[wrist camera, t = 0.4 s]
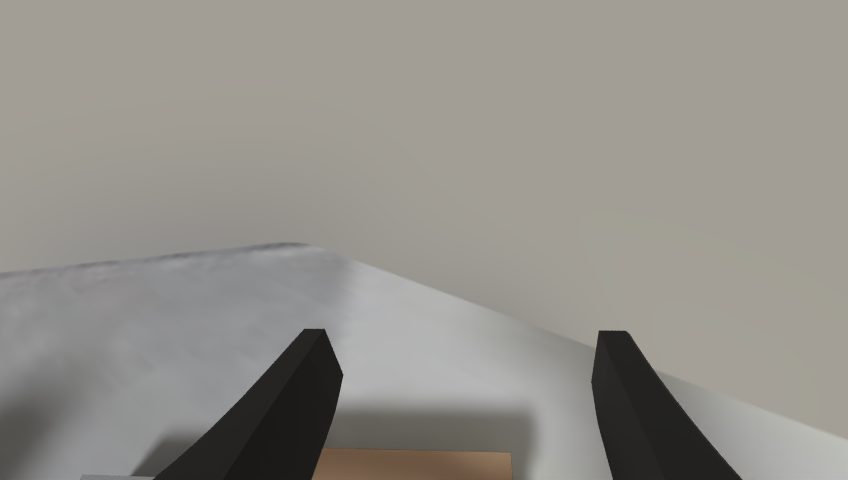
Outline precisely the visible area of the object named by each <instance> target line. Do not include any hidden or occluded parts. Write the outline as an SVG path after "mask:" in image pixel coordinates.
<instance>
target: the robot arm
mask: <svg viewBox="0 0 848 480" xmlns="http://www.w3.org/2000/svg"><path fill="white" fill-rule="evenodd" d="M342 379H343V373H342V370H341V368H340V365H339V363H338V361H337V358H336V356H335V353H334V351H333V348H332V346H331V343H330V341H329V338H328V336H327V334H326V331H325V329H304V330H303V331H302V332H301V333H300V334H299V335H298V336H297V338H296V339H295V340H294V341H293V342H292V343H291V344H290V345H289V346H288V347H287V349H286V350H285V351H284V352H283V353H282V354H281V355H280V356H279V358H278V359H277V360H276V361H275V362H274V363H273V364H272V365H271V366H270V368H269V369H268V370H267V371H266V372H265V373H264V374H263V375H262V376H261V377H260V378H259V380H258V381H257V382H256V383H255V384H254V385H253V386H252V387H251V388H250V389H249V390H248V391H247V392H246V394H245V395H244V396H243V397H242V398H241V399H240V400H239V401H238V402H237V403H236V404H235V405H234V406H233V407H232V408H231V409H230V410H229V411H228V412H227V413H226V414H225V415H224V416H223V417H222V418H221V419H220V420H219V421H218V422H217V423H216V424H215V425H214V426H213V427H212V428H211V429H210V430H209V431H208V432H207V433H206V434H204V435H203V436H202V437H201V438H200V439H199V440H198V441H197V442H196V443H195V444H194V445H193V446H191V447H190V448H189V449H188V450H187V451H186V452H185V453H183V454H182V455H181V456H180V457H179V458H178V459H177V460H175V461H174V462H173V463H172V464H171V465H170V466H168V467H167V468H166V469H165V470H164V471H162V472H161V473H160V474H159V475H157V476H156V477H155V478H154V479H152V480H312V477H313V474H314V471H315V468H316V466H317V463H318V460H319V457H320V454H321V451H322V449H323V446H324V443H325V440H326V437H327V434H328V431H329V428H330V426H331V423H332V420H333V417H334V414H335V411H336V406H337V402H338V398H339V393H340V388H341V384H342ZM591 383H592V390H593V396H594V403H595V409H596V415H597V421H598V425H599V429H600V433H601V437H602V440H603V444H604V448H605V452H606V455H607V459H608V463H609V466H610V470H611V473H612V477H613V480H742V479H741V478H740V476H739V475H738V474H737V473H736V472H735V471H734V470H733V469H732V467H731V466H730V465H729V464H728V463H727V462H726V461H725V460H724V458H723V457H722V456H721V455H720V454H719V453H718V451H717V450H716V449H715V448H714V447H713V446H712V444H711V443H710V442H709V441H708V440H707V439H706V437H705V436H704V435H703V434H702V432H701V431H700V430H699V429H698V428H697V426H696V425H695V424H694V423H693V421H692V420H691V419H690V418H689V416H688V415H687V414H686V412H685V411H684V410H683V409H682V407H681V406H680V405H679V403H678V402H677V401H676V400H675V398H674V397H673V396H672V394H671V393H670V392H669V390H668V389H667V388H666V386H665V385H664V384H663V382H662V381H661V380H660V378H659V377H658V375H657V374H656V373H655V371H654V370H653V368H652V367H651V366H650V364H649V363H648V361H647V360H646V358H645V357H644V355H643V354H642V352H641V351H640V349H639V348H638V346H637V345H636V343H635V342H634V340H633V339H632V337H631V336H630V334H629V333H628V332H626V331H599V334H598V341H597V347H596V354H595V360H594V367H593V374H592V381H591Z"/></svg>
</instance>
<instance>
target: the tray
mask: <svg viewBox="0 0 848 480" xmlns="http://www.w3.org/2000/svg"><path fill="white" fill-rule="evenodd" d="M154 478H155V477H138V476H108V475H82V477H81V478H80V480H152V479H154Z"/></svg>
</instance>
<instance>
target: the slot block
mask: <svg viewBox="0 0 848 480" xmlns="http://www.w3.org/2000/svg"><path fill="white" fill-rule="evenodd" d="M312 480H513V478H512V466H511V455H510V453H506V452H466V451H425V450H385V449H345V448H323V449H322V451H321V454H320V457H319V460H318V463H317V466H316V468H315V471H314V474H313V477H312Z"/></svg>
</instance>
